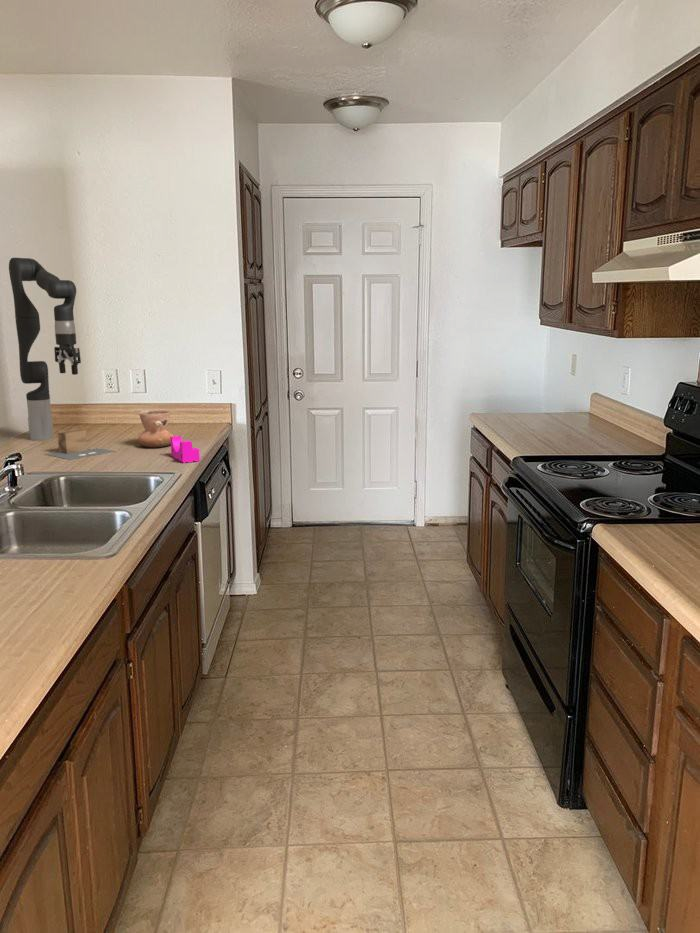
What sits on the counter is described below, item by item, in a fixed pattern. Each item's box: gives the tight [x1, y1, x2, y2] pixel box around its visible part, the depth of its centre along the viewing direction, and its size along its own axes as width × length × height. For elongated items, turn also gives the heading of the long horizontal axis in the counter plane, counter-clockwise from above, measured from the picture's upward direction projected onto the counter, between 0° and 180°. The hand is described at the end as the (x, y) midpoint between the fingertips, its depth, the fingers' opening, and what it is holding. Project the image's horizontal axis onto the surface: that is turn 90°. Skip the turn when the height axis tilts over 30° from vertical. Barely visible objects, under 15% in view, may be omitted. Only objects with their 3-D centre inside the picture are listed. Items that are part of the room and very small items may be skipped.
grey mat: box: [44, 447, 116, 461], centre depth 290 cm, size 17×20×1 cm
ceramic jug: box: [137, 409, 175, 449], centre depth 302 cm, size 18×14×14 cm
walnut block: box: [57, 428, 88, 454], centre depth 292 cm, size 6×9×8 cm, turn 143°
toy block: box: [170, 435, 201, 464], centre depth 278 cm, size 15×6×8 cm, turn 30°
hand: (68, 373), depth 294 cm, fingers open, 8 cm apart
